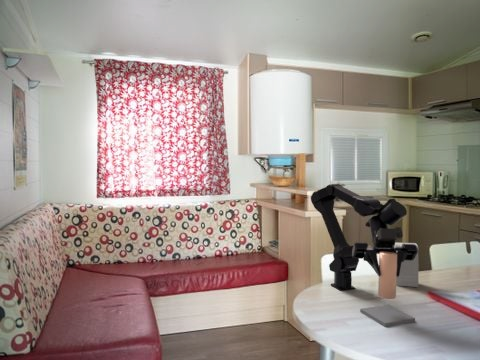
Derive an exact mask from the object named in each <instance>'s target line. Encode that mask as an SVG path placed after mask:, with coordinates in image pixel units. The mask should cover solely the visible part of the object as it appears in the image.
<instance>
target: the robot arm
mask: <svg viewBox="0 0 480 360" xmlns="http://www.w3.org/2000/svg"><path fill="white" fill-rule="evenodd" d="M336 199H339V200H341V202H344V203H346V204H347V205H349V206H351V207H353V210H354V212H356V213H357V215H359V216H361V217H371V218H369V219H368V220H367V221H366V222H365V227H367V228H369V229H370V234H371V242H372V244H373V245H368V242H363V241H355V242H354V243H353V244H352V245H350V244H349V243H348V241H347V240H346V237H345V234H344V233H343V230H342V228H341V225H340V223H339V220H338V217H337V216H336V213H335V210H334V208H335V207H334V206H335V200H336ZM310 201H311V203H312V205H313V207H314V209H315V210H316V211H317V212H318V213H320V214H321V217H322V219H323V222H324V225H325V228H326V230H327V233H328V235H329V237H330V240H331V242H332V246H333V247H334V248H333V253H332V256H333V260H332V261H331V263H329V265H328V267H329V270H330V272H332V273H334V274H333V275H334V277H333V283H330V286H332V287H334V288H336V289H337V290H339V291H346V290H354V289H355V286H353V285H352V272H356V270H357V267H358V265H359V262H360V259H362V260H363V261H364V262H367V264H369V265H370V266H371V268H372V269H373V270H374V271H375V273H376V274H377V276H378V277H379V276H380V275H381V274H380V268H379V260H378V258H377V257H378V256H377V255H379V253H380V252H393V253H396V254H397V277H399V274H400V268H401V262H404V260H414V258H415V256H416V255H417V253H418V254H419V250H418V248H417V246H418V245H417V246H416V245H415V244H402V247H401V248H394V245H395V242H396V241H397V240H398V239H402V238H403V236H404V233H403V229H402V227H401V226H400V227H399V226H397V227H396V226H395V227H393V228H390V227H389V226H394V225H396V224H397V223H398V222H399V221H401V220H402V219H403V218H404V217H406V215H407V214H408V210H407V209H406V206H404V205H403V204H402V203H401V202H399V201H397V200H396V199H395V198H389V199H388V200H387V201H386V202H385V203H384V204H383V203H381V201H380V200H379V199H376V198H373V197H368V196H363V195H360V194H357V193H356V192H355V191H352V190H350V189H348V188H346V187H344V186H342V185H341V184H339V183H330V184H328V185H326V186H325V187H322V188H320V189H318V190H317V191H313V192H312V194H311V195H310Z"/></svg>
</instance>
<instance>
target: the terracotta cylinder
mask: <svg viewBox="0 0 480 360" xmlns="http://www.w3.org/2000/svg"><path fill="white" fill-rule="evenodd" d="M378 255H379V256H378V258H379V259H378V264H379V268H380V274H381V275H380V276H378V286H377V287H378V288H377V289H378V290H377V296H378V297H379V298H382V299H385V300H394V299H396V298H397V286H396V279H397V254H396V253H393V252H380V253H379V254H378Z"/></svg>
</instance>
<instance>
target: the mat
mask: <svg viewBox="0 0 480 360" xmlns="http://www.w3.org/2000/svg"><path fill="white" fill-rule="evenodd" d="M359 313H361V314H363V315H365V316H366V317H368V318H369V319H372V320H373V321H374V322H376V323H378V324H379V325H381V326H383V327H386V328H387V327H390V326H397V325H401V324H403V325H404V324H409V323H413V322H414V323H415V322H416V318H415V317H414V316H412V315H410V314H408V313H407V312H405V311H403V310H400V309H398V308H397V307H394V306H393V305H390V304H383V305H382V304H381V305H377V306H376V305H375V306H368V307H363V308H360V310H359Z"/></svg>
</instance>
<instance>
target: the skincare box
mask: <svg viewBox="0 0 480 360" xmlns="http://www.w3.org/2000/svg"><path fill="white" fill-rule="evenodd" d="M402 244H415V245H416V246H417V248H418V251H420V249H419V246H418V244H417V243H416V242H396V241H395V245H393V248H401V247H402ZM396 287H410V288H411V287H413V288H419V252H418V253H417V255H416V256H415V258H414V260H404V262H401V268H400V274H399V277H397V279H396Z"/></svg>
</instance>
